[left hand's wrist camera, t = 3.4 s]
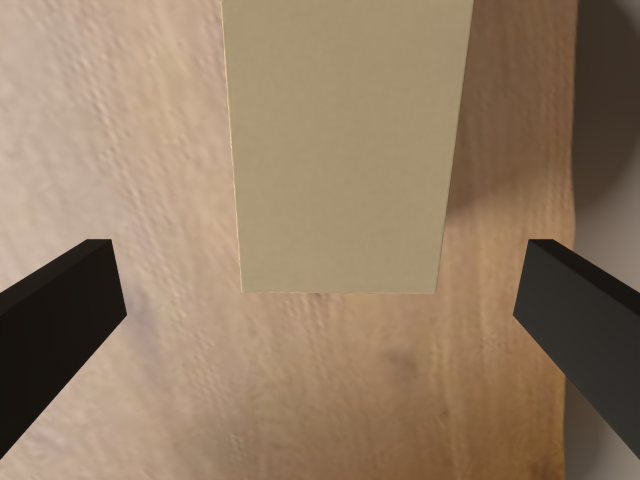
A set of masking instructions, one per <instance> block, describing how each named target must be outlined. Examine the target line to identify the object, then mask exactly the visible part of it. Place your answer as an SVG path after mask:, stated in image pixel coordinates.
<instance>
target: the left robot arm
mask: <svg viewBox="0 0 640 480" xmlns="http://www.w3.org/2000/svg"><path fill="white" fill-rule="evenodd" d="M126 316H127V312H126V308H125V303H124V298H123V293H122V288H121V284H120V279H119V274H118V269H117V264H116V260H115V255H114V250H113V245H112V240H111V239H87V240H85V241H83V242H82V243H80V244H78V245H77V246H75V247H74V248H72V249H70V250H69V251H67V252H66V253H64V254H62V255H61V256H59V257H58V258H56V259H54V260H53V261H51V262H49V263H48V264H46V265H45V266H43V267H41V268H40V269H38V270H37V271H35V272H33V273H32V274H30V275H28V276H27V277H25V278H24V279H22V280H20V281H19V282H17V283H16V284H14V285H12V286H11V287H9V288H8V289H6V290H4V291H3V292H1V293H0V460H1V458H2V457H3V456H4V455H5V454H6V453H7V452H8V450H9V449H10V448H11V447H12V446H13V445H14V444H15V442H16V441H17V440H18V439H19V438H20V437H21V436H22V434H23V433H24V432H25V431H26V430H27V429H28V428H29V426H30V425H31V424H32V423H33V422H34V421H35V420H36V418H37V417H38V416H39V415H40V414H41V413H42V412H43V410H44V409H45V408H46V407H47V406H48V405H49V404H50V402H51V401H52V400H53V399H54V398H55V397H56V396H57V395H58V393H59V392H60V391H61V390H62V389H63V388H64V387H65V385H66V384H67V383H68V382H69V381H70V380H71V379H72V377H73V376H74V375H75V374H76V373H77V372H78V371H79V369H80V368H81V367H82V366H83V365H84V364H85V363H86V361H87V360H88V359H89V358H90V357H91V356H92V355H93V353H94V352H95V351H96V350H97V349H98V348H99V347H100V345H101V344H102V343H103V342H104V341H105V340H106V339H107V337H108V336H109V335H110V334H111V333H112V332H113V331H114V329H115V328H116V327H117V326H118V325H119V324H120V323H121V321H122V320H123V319H124V318H125V317H126ZM513 316H514V317H515V318H516V319H517V320H518V321H519V323H520V324H521V325H522V326H523V327H524V328H525V329H526V331H527V332H528V333H529V334H530V335H531V336H532V337H533V339H534V340H535V341H536V342H537V343H538V344H539V345H540V347H541V348H542V349H543V350H544V351H545V352H546V353H547V355H548V356H549V357H550V358H551V359H552V360H553V361H554V363H555V364H556V365H557V366H558V367H559V368H560V369H561V371H562V372H563V373H564V374H565V375H566V376H567V377H568V379H569V380H570V381H571V382H572V383H573V384H574V385H575V387H576V388H577V389H578V390H579V391H580V392H581V393H582V395H583V396H584V397H585V398H586V399H587V400H588V401H589V402H590V404H591V405H592V406H593V407H594V408H595V409H596V410H597V412H598V413H599V414H600V415H601V416H602V417H603V418H604V420H605V421H606V422H607V423H608V424H609V425H610V426H611V428H612V429H613V430H614V431H615V432H616V433H617V434H618V436H619V437H620V438H621V439H622V440H623V441H624V442H625V444H626V445H627V446H628V447H629V448H630V449H631V450H632V452H633V453H634V454H635V455H636V456H637V457H638V458H639V460H640V293H639V292H637V291H636V290H634V289H632V288H631V287H629V286H628V285H626V284H624V283H623V282H621V281H620V280H618V279H616V278H615V277H613V276H612V275H610V274H608V273H607V272H605V271H603V270H602V269H600V268H599V267H597V266H595V265H594V264H592V263H590V262H589V261H587V260H586V259H584V258H582V257H581V256H579V255H578V254H576V253H574V252H573V251H571V250H570V249H568V248H566V247H565V246H563V245H562V244H560V243H558V242H557V241H555V240H553V239H529V240H528V245H527V250H526V255H525V260H524V264H523V269H522V274H521V279H520V284H519V288H518V293H517V298H516V303H515V308H514V312H513Z"/></svg>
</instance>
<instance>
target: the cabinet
mask: <svg viewBox="0 0 640 480" xmlns="http://www.w3.org/2000/svg"><path fill="white" fill-rule="evenodd" d="M473 6H474V0H221V12H222V26H223V40H224V54H225V68H226V82H227V96H228V110H229V124H230V138H231V152H232V166H233V180H234V194H235V208H236V221H237V235H238V249H239V263H240V277H241V291H242V292H261V293H399V294H436V288H437V281H438V273H439V265H440V258H441V250H442V242H443V235H444V227H445V219H446V212H447V204H448V197H449V189H450V181H451V174H452V166H453V158H454V151H455V143H456V135H457V128H458V120H459V113H460V105H461V97H462V90H463V82H464V74H465V67H466V59H467V51H468V44H469V36H470V28H471V21H472V13H473Z"/></svg>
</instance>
